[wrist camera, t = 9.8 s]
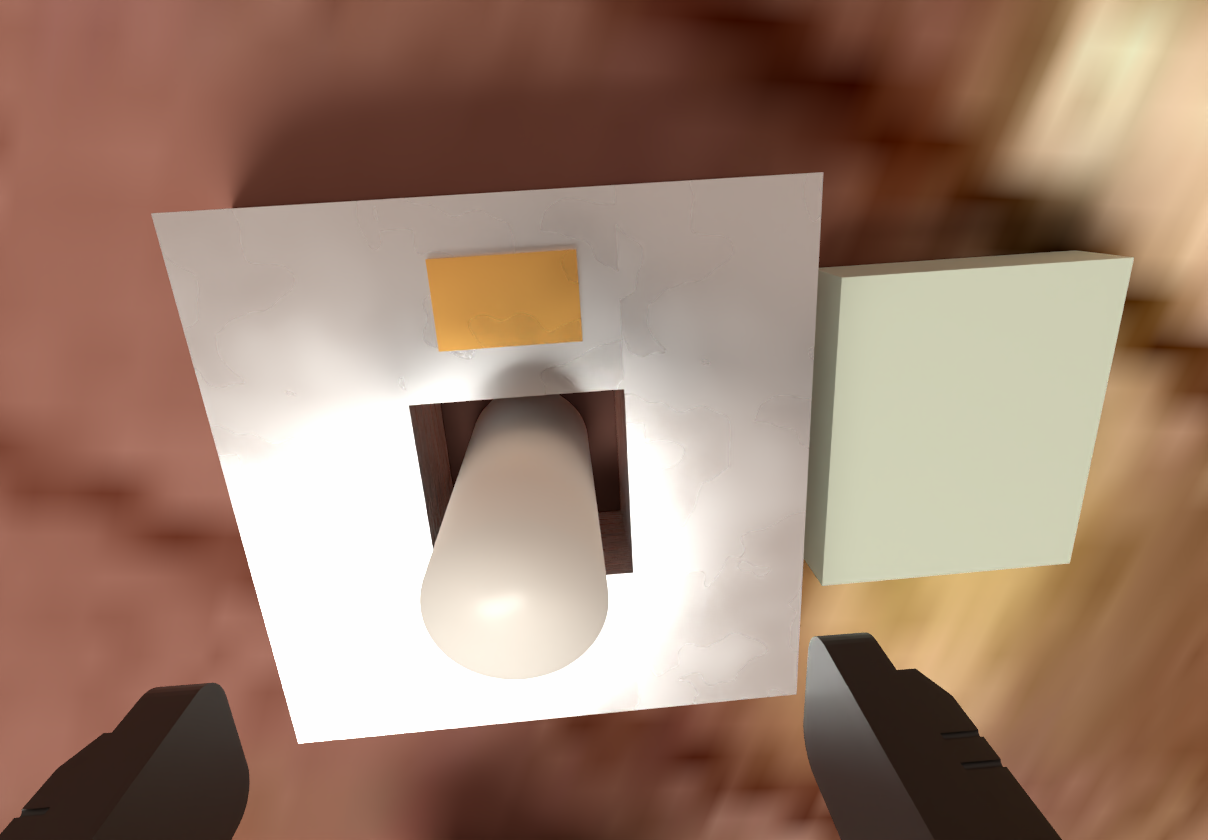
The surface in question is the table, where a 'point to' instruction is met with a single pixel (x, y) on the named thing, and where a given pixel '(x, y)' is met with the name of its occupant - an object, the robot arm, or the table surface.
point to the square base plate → (956, 411)
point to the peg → (519, 546)
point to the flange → (504, 370)
